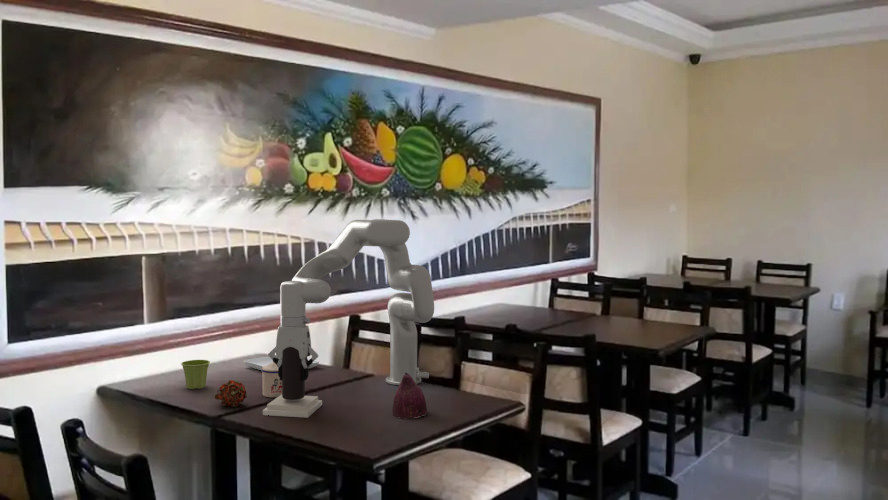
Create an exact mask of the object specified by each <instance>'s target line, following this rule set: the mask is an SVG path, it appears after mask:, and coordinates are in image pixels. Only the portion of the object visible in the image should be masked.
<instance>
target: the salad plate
mask: <svg viewBox="0 0 888 500" xmlns="http://www.w3.org/2000/svg"><path fill="white" fill-rule="evenodd" d="M275 356H276V354H275ZM276 357H277V356H276ZM310 359H311V358H308V361H309V360H310ZM272 362H273V360H272V359H271V358H270V357H269V356H268V355H267V356H262V357H261V356H260V357H256V358H250V359H249V358H248V359H244V360H243V363H244V364H245V365H246V366H248V367H250V368H253V369H254V370H256V369H258V370H257V371H259V370H261V371H260V372H262V368H263V367H264V366H266V365H268V364H270V363H272ZM319 363H320V361H318V360H315V361H314V362H313V363H312V364H311V365H310V366H309V367H308V370H309V369H312V368H314V367H315V368H316V367H317V366H318V365H319Z"/></svg>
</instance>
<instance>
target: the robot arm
mask: <svg viewBox="0 0 888 500" xmlns="http://www.w3.org/2000/svg"><path fill="white" fill-rule="evenodd" d="M410 235H411V231H410V228H409V226H408V224H407V223H406V222H405V221H404V220H401V219H398V220H397V219H385V218H384V219H382V218H380V219H379V218H376V219H355V220H351V221H349V222H348V223H347V224H346V225H345V227H344V228H343V229H342V231H341V232H340V233H339V234H338V235H337V237H336V238H335V239H334V240H333V242H331V244H330V246H329V247H328V248H327V249H325V250H324V251H323V252H320V253H319V254H318V255H317V256H314V257H313V258H312V259H310V260H308V261H307V262H306V263H305V264H303V265H302V267H300V268H299V270H298V271H297V273H296V274H295V275H294V276H293V278H292V279H291V280H288V281H287V280H285V281H282V282H281V284H280V287H279V288H280V289H279V292H280V293H279V294H280V296H279V297H280V298H279V299H280V312H279V313H280V316H279V317H280V325H278V328H277V334H276V340H275V346H274V348H273V349H272V350H271V351H269V352H268V354H267V356H269V357H270V358H271V359H272V360H273V362H274V363H275V364H276V365H277V367H278V376H279V377H280V380H282V353H283V350H284V349H285V348H287V347H293V348H295V349H297V350H298V351H299V356H300V359H302V365H303V368H302V381H305V382H306V381H307V380H308V378H309V374H310V373H309V372H310V371H309V369H308V367H309V366H310V365H311V364H312V363H313V362H314V361H317V359H318V358H319V354H318V352H316V351H315V350H314V348H313V347H312V341H311V332H310V331H311V330H310V326H309V325H307V324H310V322H311V318H308V317H307V315H306V314H307V313H306V309H307V307H306V306H307V304H317V305H318V304H322V303H324V302H326V301H328V300H329V298H330V296H331V293H332V289H331V286H330V284H329V283H328V282H327V281H325V280H323V279H321V278H322V277H325V276H326V275H329V274H331V273H334V272H339V271H341V270H343V269H345V268H347V267H349V266H350V264H351V263H352V261H354V259H355V258H356V257H357V255H358V254H359V253H360V251H361V250H362V249H363V247H378V248H380V250H381V252H382V254H383V258H384V263H385V270H386V278H387V281H388V286H389V287H390V289H392V290H395V291H401V292H397V293H394V294H393V295H392V296H391V297H389V299H388V302H387V313H388V318H389V326H390V327H389V329H390V333H389V336H390V337H389V338H390V339H389V340H390V341H389V342H390V347H389V348H390V352H389V354H390V356H389V361H390V363H389V369H390V371H389V376H387V377H385V383H387V384H389V385H392V386H393V385H396V386H399V384H400V383H401V381H402V378H403V376H404V374H405V372H406V373H408V374H410V375H411V377H412V378H413V380H414V381H415V383H416V384H417V385H418V384H420V383H421V382H422V379H429V377H430V373H429V372H427V371H421V370H420V367H418V330H417V326H416V323H427V322H429V321H431V319H432V318H433V316H434V313H435V300H434V293H433V292H434V291H433V286H432V285H433V284H432V277H431V275H430V273H429V271H428V269H427V268H426V267H424V266H423V265H420V264H412V263H411V260H410V255H409V251H408V247H407V244H406V243H407V242H408V240H409V238H410ZM290 340H291V341H290ZM275 355H276V356H277V357H276V356H275ZM308 357H310V358H308ZM308 359H310V360H309V361H308Z"/></svg>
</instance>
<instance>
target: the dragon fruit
mask: <svg viewBox="0 0 888 500" xmlns="http://www.w3.org/2000/svg"><path fill="white" fill-rule="evenodd" d="M216 393H217V394H214V395H213V396H214V397H213V398H214V399H215V400H219V401H221V404H222V406H224V407H227V406H229V407H233V408H236V407H238V406H239V405H240V404H243V402H244V400H245V399H246V398H248V394H247V391H246V388H245V385H244V384H243V383H242V382H239V380H233V379H229V380H228V381H227V382H226V383H223V384H221V385H220V386H219V387H218V390H217V391H216Z"/></svg>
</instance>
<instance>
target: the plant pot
mask: <svg viewBox="0 0 888 500" xmlns="http://www.w3.org/2000/svg"><path fill="white" fill-rule="evenodd" d="M210 363H211V361H210V360H208V359H190V360H185V361H182V362H181V363H180V366H182V370H183V373H184V378H185V384H186V385H185V386H186V389H188V390H195V389H199V390H200V389H203V388H206V384H207V377H208V368H209V364H210Z"/></svg>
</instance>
